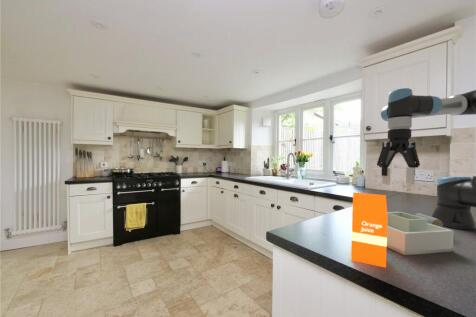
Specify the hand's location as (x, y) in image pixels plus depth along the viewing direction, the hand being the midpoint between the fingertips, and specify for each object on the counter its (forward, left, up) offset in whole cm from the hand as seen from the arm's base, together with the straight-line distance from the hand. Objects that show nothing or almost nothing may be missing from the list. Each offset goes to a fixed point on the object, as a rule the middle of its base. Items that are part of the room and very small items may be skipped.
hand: (398, 184), depth 85 cm
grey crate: (+3, +5, -21) cm, 22 cm away
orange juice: (+27, +14, -21) cm, 37 cm away
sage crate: (+3, +5, -20) cm, 21 cm away
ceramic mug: (-18, -2, -21) cm, 28 cm away
